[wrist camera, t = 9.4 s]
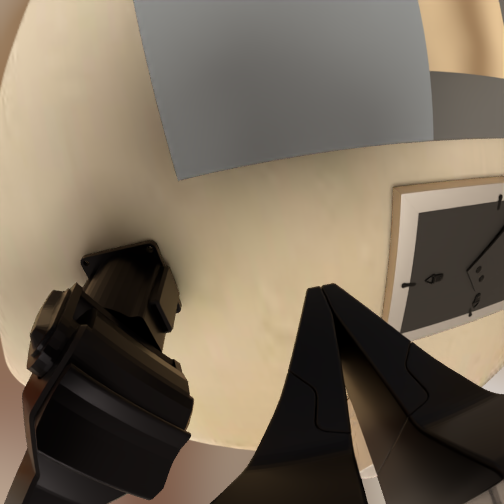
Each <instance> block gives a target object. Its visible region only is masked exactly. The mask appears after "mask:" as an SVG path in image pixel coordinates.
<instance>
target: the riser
mask: <svg viewBox="0 0 504 504" xmlns="http://www.w3.org/2000/svg"><path fill="white" fill-rule="evenodd" d="M133 1H134V6H135V11H136V16H137V21H138V25H139V30H140V35H141V39H142V44H143V48H144V52H145V57H146V61H147V65H148V69H149V74H150V78H151V82H152V86H153V90H154V94H155V98H156V102H157V106H158V110H159V113H160V117H161V121H162V125H163V129H164V132H165V136H166V140H167V143H168V147H169V151H170V154H171V158H172V161H173V165H174V168H175V172H176V175H177V179H178V181H179V180H183V179H188V178H192V177H196V176H200V175H205V174H209V173H214V172H218V171H223V170H228V169H233V168H237V167H242V166H247V165H252V164H258V163H263V162H268V161H274V160H279V159H285V158H291V157H297V156H303V155H310V154H316V153H323V152H330V151H337V150H344V149H352V148H360V147H369V146H377V145H387V144H397V143H408V142H421V141H434V137H433V108H432V93H431V81H430V71H429V63H428V55H427V48H426V41H425V35H424V29H423V23H422V18H421V13H420V8H419V3H418V0H133Z"/></svg>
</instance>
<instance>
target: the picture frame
mask: <svg viewBox="0 0 504 504" xmlns="http://www.w3.org/2000/svg"><path fill="white" fill-rule="evenodd" d="M501 310H504V176H498V177H486V178H474V179H463V180H453V181H443V182H433V183H424V184H415V185H406V186H398V187H393V201H392V223H391V239H390V252H389V263H388V272H387V282H386V290H385V298H384V305H383V312H382V319H383V320H384V321H386V322H387V323H388V324H390V325H391V326H392V327H393V328H395V329H396V330H397V331H399V332H400V333H401V334H403V335H404V336H405V337H406V338H408V339H409V340H410V341H414V340H418V339H421V338H424V337H428V336H431V335H434V334H437V333H440V332H443V331H446V330H449V329H452V328H455V327H458V326H461V325H464V324H467V323H470V322H472V321H475V320H478V319H481V318H483V317H486V316H488V315H491V314H494V313H496V312H499V311H501Z"/></svg>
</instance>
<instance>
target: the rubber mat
mask: <svg viewBox="0 0 504 504" xmlns="http://www.w3.org/2000/svg"><path fill="white" fill-rule="evenodd" d="M499 4H500V9H501V14H502V19H503V24H504V0H499ZM430 81H431V93H432V108H433V137H434V141H440V140H458V139H488V138H504V79H503V78H497V77H490V76H483V75H475V74H465V73H454V72H441V71H430ZM421 142H425V141H421ZM408 143H412V142H408Z"/></svg>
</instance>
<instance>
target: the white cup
mask: <svg viewBox="0 0 504 504" xmlns="http://www.w3.org/2000/svg"><path fill="white" fill-rule="evenodd" d="M347 402H348V410H349V417H350V425H351V435H352V441H353V447H354V453H355V457H356V461H357V465H358V468H359V472H360V476H361V478H372V477H377V474H376V471H375V468H374V465H373V462H372V459H371V457H370V454H369V451H368V448H367V445H366V442H365V439H364V436H363V434H362V431H361V428H360V425H359V422H358V420H357V417H356V414H355V411H354V409H353V406H352V403H351V400H350V398H349V399H348V400H347Z"/></svg>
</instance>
